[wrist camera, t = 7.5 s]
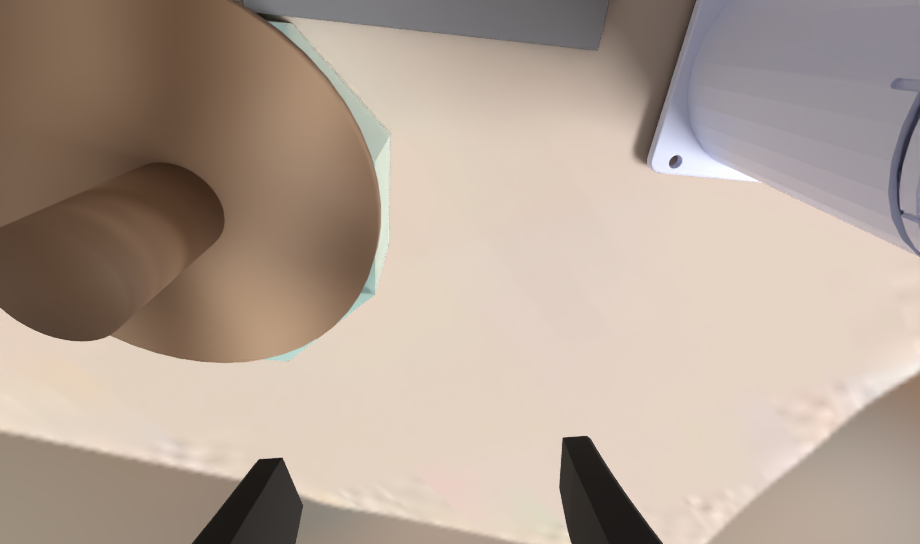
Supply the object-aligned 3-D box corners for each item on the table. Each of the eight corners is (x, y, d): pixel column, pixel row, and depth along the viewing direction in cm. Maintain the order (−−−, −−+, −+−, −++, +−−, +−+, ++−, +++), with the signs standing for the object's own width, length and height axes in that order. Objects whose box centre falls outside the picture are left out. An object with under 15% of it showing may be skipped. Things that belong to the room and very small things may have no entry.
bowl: (392, 34, 15) (375, 34, 11) (387, 309, 20) (375, 365, 17) (38, -5, 14) (-99, -18, 10) (135, 292, 20) (67, 349, 16)
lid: (397, 17, 11) (361, 5, 6) (369, 364, 17) (340, 488, 12) (-118, -81, 10) (-617, -182, 5) (42, 329, 16) (-128, 453, 11)
